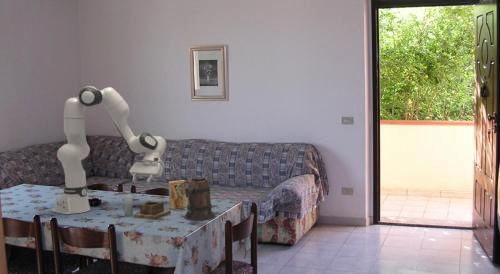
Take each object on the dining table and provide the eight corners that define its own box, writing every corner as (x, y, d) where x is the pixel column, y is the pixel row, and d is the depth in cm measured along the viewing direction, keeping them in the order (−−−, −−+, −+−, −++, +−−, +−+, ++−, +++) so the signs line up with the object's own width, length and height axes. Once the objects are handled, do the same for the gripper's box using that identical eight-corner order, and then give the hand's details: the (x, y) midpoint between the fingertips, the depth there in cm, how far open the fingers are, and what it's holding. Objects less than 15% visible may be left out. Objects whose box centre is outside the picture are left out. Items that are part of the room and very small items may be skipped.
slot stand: (133, 217, 295) (133, 205, 295) (149, 211, 308) (149, 199, 307) (155, 219, 289) (154, 207, 288) (170, 213, 301) (170, 201, 301)
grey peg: (122, 216, 298) (121, 196, 297) (128, 214, 302) (127, 194, 301) (129, 216, 296) (128, 196, 295) (134, 214, 300) (133, 195, 299)
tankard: (190, 212, 303) (189, 176, 301) (220, 213, 298) (218, 177, 296) (173, 223, 280) (171, 184, 278) (204, 225, 276) (203, 185, 274)
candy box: (183, 206, 319) (182, 179, 317) (186, 207, 315) (185, 180, 314) (169, 208, 314) (168, 181, 313) (172, 209, 311) (171, 182, 309)
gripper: (133, 157, 318) (123, 177, 310) (162, 159, 309) (152, 179, 301) (138, 164, 322) (128, 183, 315) (167, 165, 313) (157, 186, 306)
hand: (140, 181), depth 308 cm, fingers open, 8 cm apart
